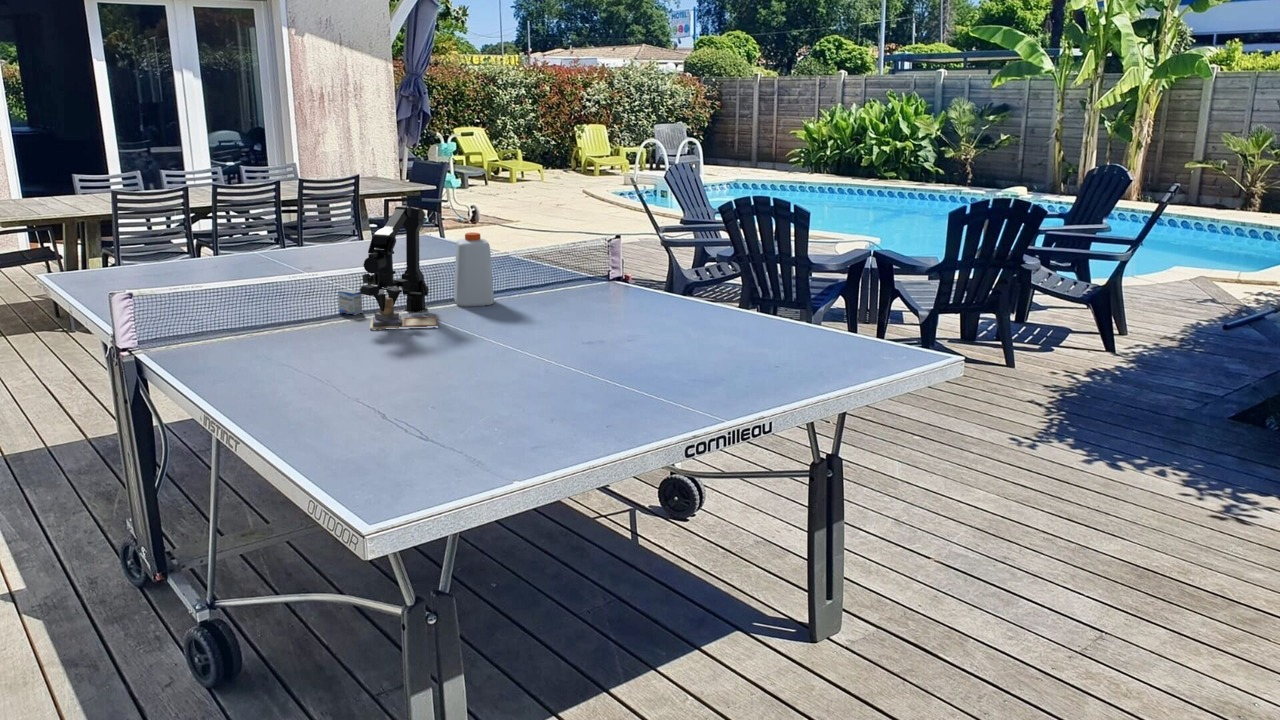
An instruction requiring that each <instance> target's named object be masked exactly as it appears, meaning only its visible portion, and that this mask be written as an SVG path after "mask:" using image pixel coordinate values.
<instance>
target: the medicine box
mask: <svg viewBox="0 0 1280 720" xmlns="http://www.w3.org/2000/svg"><path fill="white" fill-rule="evenodd" d="M337 293H338V294H337V295H338V311H339V313H340V314H342V313H349V314H358V313H362V314H363V294H360V291H357V290H353V289H346V288H345V289H342V290H341V289H340V290H338V292H337Z"/></svg>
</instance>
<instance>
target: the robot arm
mask: <svg viewBox="0 0 1280 720" xmlns="http://www.w3.org/2000/svg"><path fill="white" fill-rule="evenodd" d="M425 217H426V215H425V211H424V210H423V209H422V208H421V207H411V206H408V205H397V206H395V207H394V212H393V213H392V214H391V216H390V217H389V219H388V221H387V222H386V224H385V225H384V227H382V228H380V229H378V230H377V231H376V232H374V234H373V235H372V236H371V241H370V244H369V247H368V251H367V252H368V253H367V254H368V257H366V258H365V259H364V262H363V268H364V270H365V271H366V272H367V273H365V274H362V283H363V284H365V285H361V286H360V289H359V292H360V294H362V295H364V296H368V297H372V296H373V297H374V298H375V300H376V302H377V304H378V307H379V311H380V310H381V311H384V308H385V298H386V297H389V298H393V306H395V303H396V301H397V299H398V298H399V296H400V294H401V293H402V295H403V296H406V299H405V300H406V308H404V311H407V312H411V313H419V312H423V311H424V312H425V311H428V309H429V308H428V307H426V298H425V297H427V296H428V295H429V286H428V285H427V284H426V282H425V277H424V274H423V273H422V271H421V269H420V230H421V229H422V228H423V226H424V222H425ZM402 227H403V229H405V236H406V237H405V239H406V241H405V242H406V243H405V245H406V246H405V247H406V248H405V250H406V251H405V252H406V256H405V257H406V258H405V259H406V264H405V265H406V269H405V270H404V273H402V274H401V276H400V278H396V279H394V275H395V274H396V270H394V264H393V263H394V262H393V260H394V259H393V254H395V251H394V248H395V246H396V245H397V239H396V237H397V234H398V233H399V231H400V230H401V228H402ZM370 274H371V275H370ZM400 287H401V289H400ZM384 291H386V293H387V294H386V293H384ZM387 295H388V296H387Z"/></svg>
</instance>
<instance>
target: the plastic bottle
mask: <svg viewBox="0 0 1280 720" xmlns="http://www.w3.org/2000/svg"><path fill="white" fill-rule="evenodd" d="M455 244H456V245H455V260H454V261H455V262H454V267H455V268H454V282H453V283H454V287H453V288H454V289H453V300H454V302H455V304H456V305H458V306H460V307H462V308H463V307H467V308H470V307H486V306H485V305H489V306H492V305H493V304H494V303H495V296H494V295H495V293H494V284H493V283H494V282H493V280H494V279H493V272H492V259H491V258H492V257H491V256H492V255H491V245H490V243H489V241H487V240H486V239H484V238H481V233H479V232H474V231H473V232H471V231H470V232H466V233H465V234H464V238H461V239H458V240H456V243H455ZM491 304H492V305H491Z"/></svg>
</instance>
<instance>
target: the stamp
mask: <svg viewBox="0 0 1280 720" xmlns="http://www.w3.org/2000/svg"><path fill="white" fill-rule="evenodd" d="M394 306H395V305H394ZM394 306H393V298H389V297H388V296H386V298H385V308H384V311H381V310H380V309H379V312H374V317H375V319H378V320H382V321H390V320H394V319H399V316H400V313H399V312H396V311H395V309H394Z"/></svg>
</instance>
